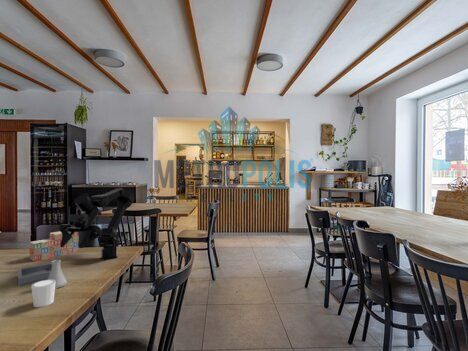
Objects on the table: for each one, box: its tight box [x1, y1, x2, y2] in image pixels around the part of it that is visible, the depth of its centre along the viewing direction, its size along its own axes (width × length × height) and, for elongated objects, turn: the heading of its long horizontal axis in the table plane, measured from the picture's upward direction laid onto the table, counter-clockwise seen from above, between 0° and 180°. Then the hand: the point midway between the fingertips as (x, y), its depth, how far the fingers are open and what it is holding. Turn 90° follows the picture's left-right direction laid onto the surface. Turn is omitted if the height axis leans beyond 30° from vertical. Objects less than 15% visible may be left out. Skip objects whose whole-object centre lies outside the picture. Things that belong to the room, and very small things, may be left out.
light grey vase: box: [48, 259, 68, 290], centre depth 103 cm, size 7×7×10 cm
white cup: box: [31, 279, 56, 308], centre depth 90 cm, size 7×7×7 cm
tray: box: [17, 262, 52, 287], centre depth 112 cm, size 13×13×3 cm
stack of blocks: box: [29, 231, 80, 262], centre depth 142 cm, size 21×6×12 cm, turn 145°
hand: (70, 247), depth 111 cm, fingers open, 9 cm apart
